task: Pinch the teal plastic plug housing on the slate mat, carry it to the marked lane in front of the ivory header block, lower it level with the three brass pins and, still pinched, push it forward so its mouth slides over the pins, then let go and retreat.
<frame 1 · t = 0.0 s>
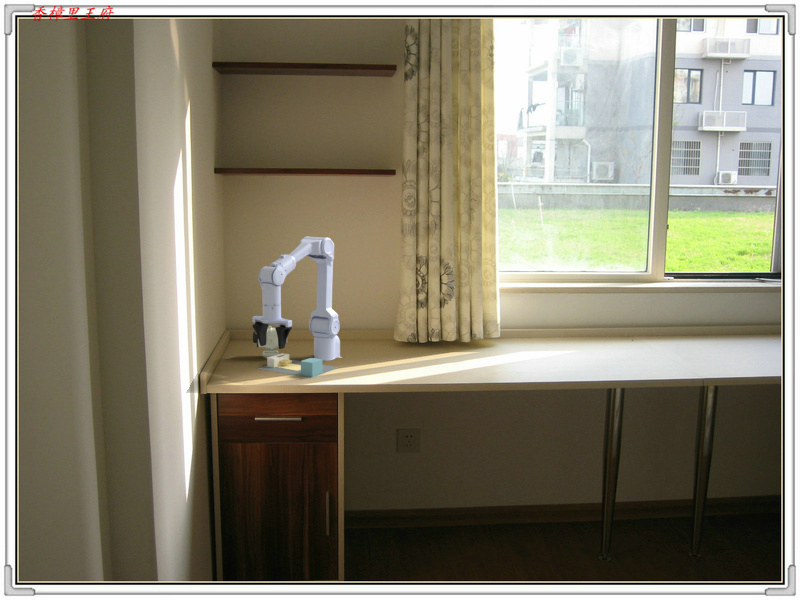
hand: (272, 346, 220), 10 cm above the table, fingers open, 7 cm apart
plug: (311, 374, 224), point 1 cm above the table, touching mat
mat: (298, 370, 232), on the table
header: (278, 364, 236), resting on mat
pneumatic valve: (270, 359, 246), on the table
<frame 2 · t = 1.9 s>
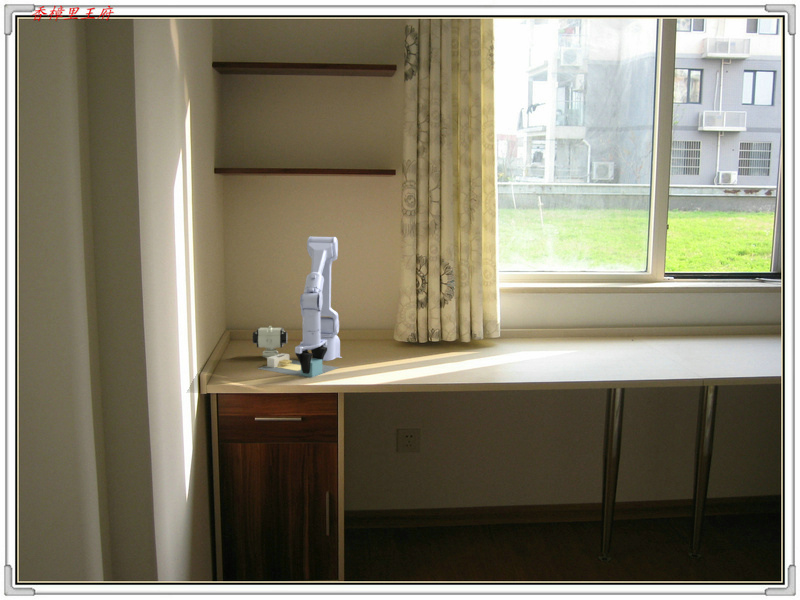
hand: (311, 371, 224), 2 cm above the table, fingers closed on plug, 5 cm apart
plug: (311, 374, 224), point 1 cm above the table, touching gripper, mat
everything else where it was.
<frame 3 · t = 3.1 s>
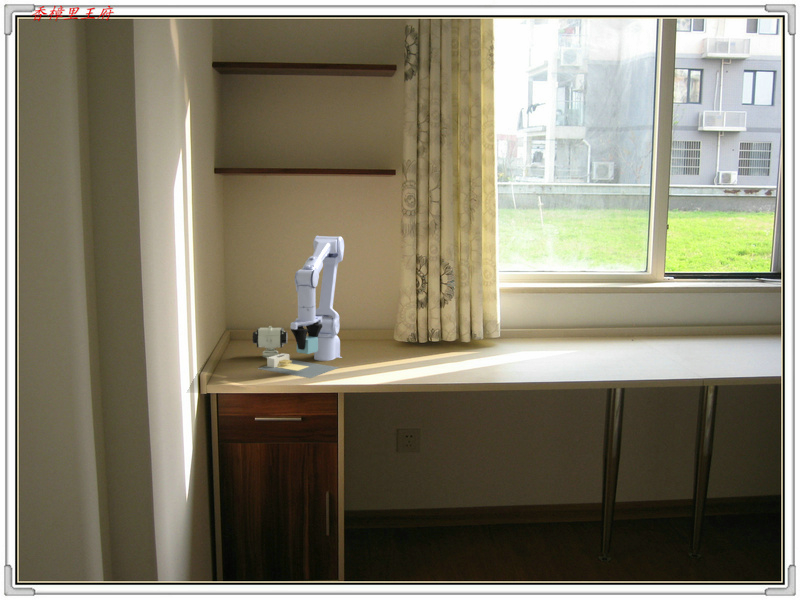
hand: (307, 347, 227), 9 cm above the table, fingers closed on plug, 5 cm apart
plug: (307, 351, 227), point 7 cm above the table, touching gripper
everything else where it was.
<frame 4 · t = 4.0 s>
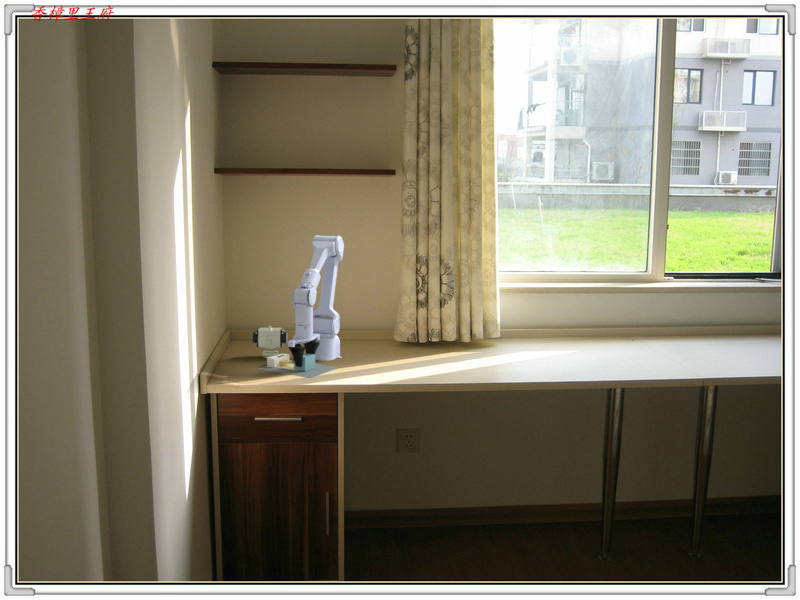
hand: (304, 364, 230), 2 cm above the table, fingers closed on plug, 5 cm apart
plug: (304, 368, 230), point 1 cm above the table, touching gripper, mat
everything else where it was.
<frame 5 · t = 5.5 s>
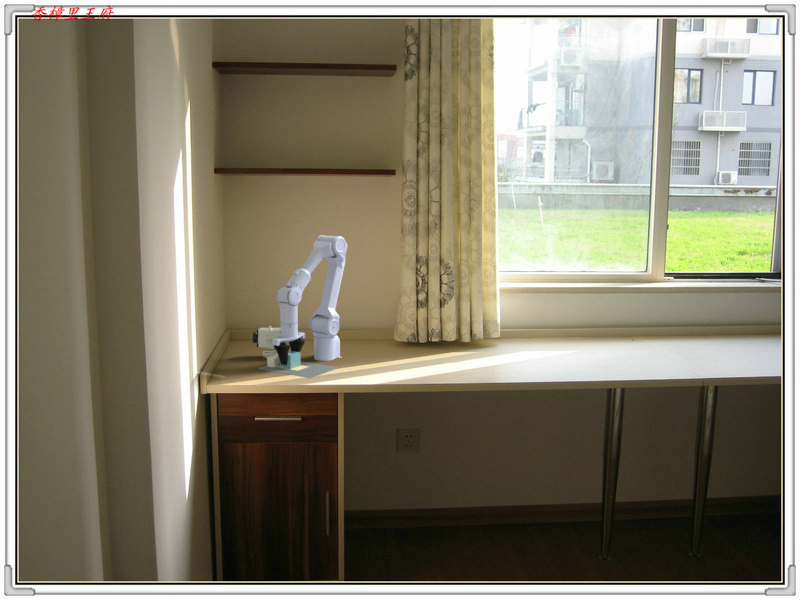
hand: (289, 362, 233), 2 cm above the table, fingers closed on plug, 5 cm apart
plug: (290, 366, 233), point 1 cm above the table, touching gripper
everything else where it was.
when the fingers open (2 cm above the table, at t = 6.3 s): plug stays where it is, resting on mat.
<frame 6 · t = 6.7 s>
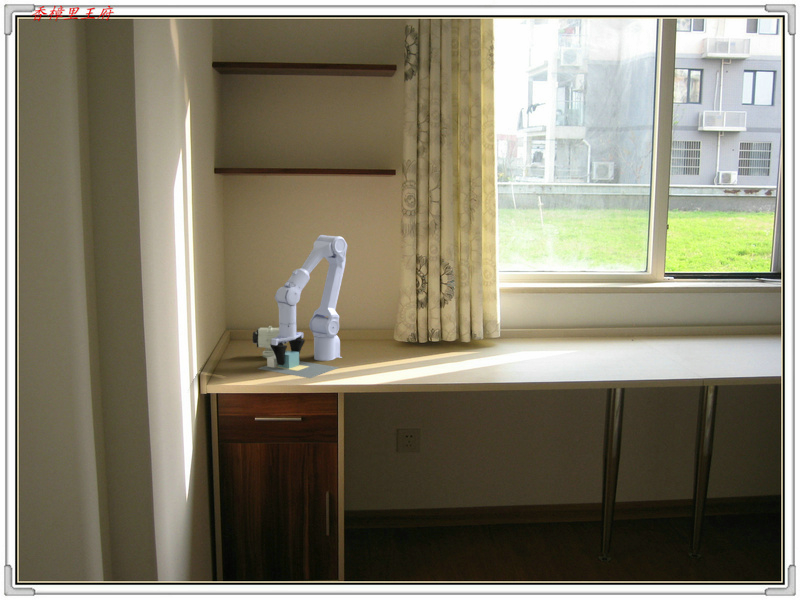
hand: (288, 362, 233), 2 cm above the table, fingers open, 7 cm apart
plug: (288, 366, 233), point 1 cm above the table, touching mat
everything else where it was.
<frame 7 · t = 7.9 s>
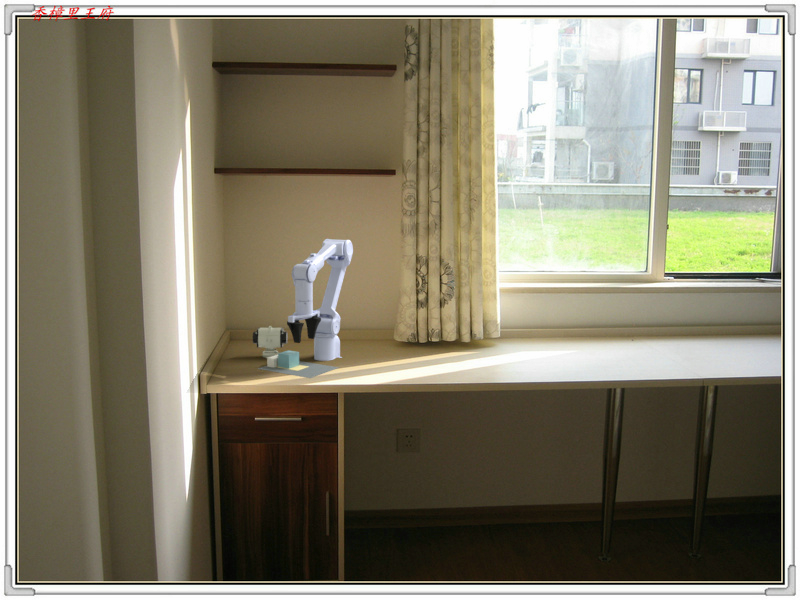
hand: (304, 340, 231), 10 cm above the table, fingers open, 7 cm apart
nothing on the table moved.
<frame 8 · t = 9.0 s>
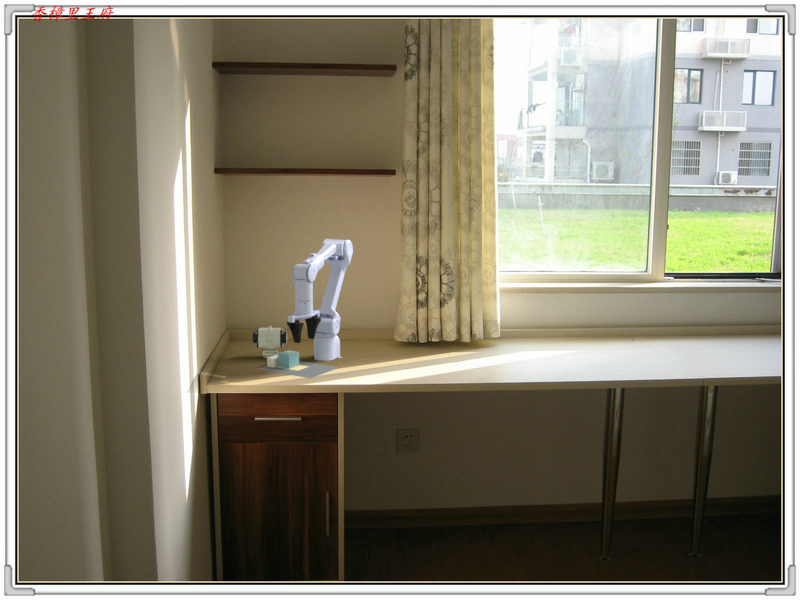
hand: (304, 340, 231), 10 cm above the table, fingers open, 7 cm apart
nothing on the table moved.
at the end: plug 0.1 cm from the target spot, point 0.9 cm above the table; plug tilted 0°; the gripper is holding nothing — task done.
